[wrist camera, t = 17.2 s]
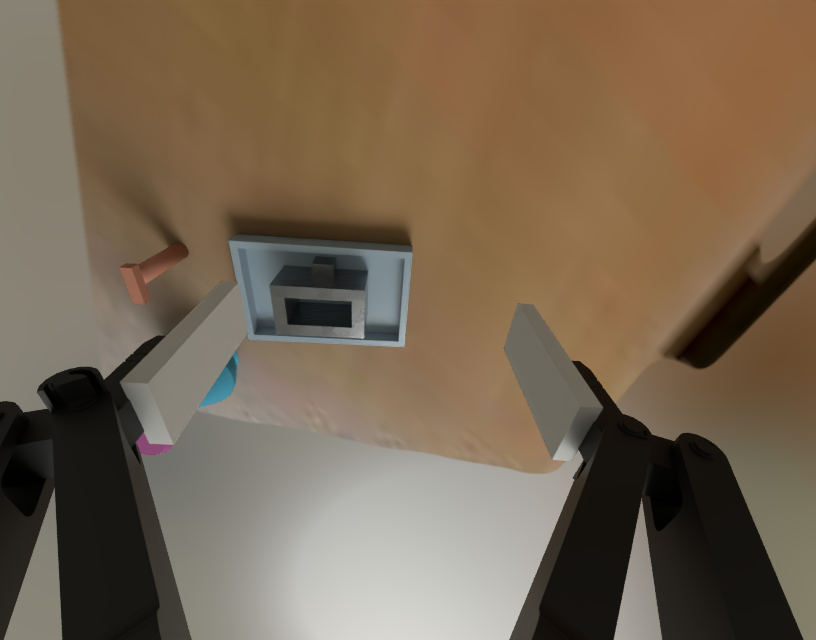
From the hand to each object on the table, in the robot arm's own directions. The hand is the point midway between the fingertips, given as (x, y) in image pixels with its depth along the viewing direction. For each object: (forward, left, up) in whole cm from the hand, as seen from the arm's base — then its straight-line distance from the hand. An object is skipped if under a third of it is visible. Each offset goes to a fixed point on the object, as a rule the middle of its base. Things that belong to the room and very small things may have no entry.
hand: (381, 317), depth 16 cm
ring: (+11, -7, -24) cm, 27 cm away
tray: (+11, -7, -25) cm, 28 cm away
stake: (+7, -24, -25) cm, 35 cm away
